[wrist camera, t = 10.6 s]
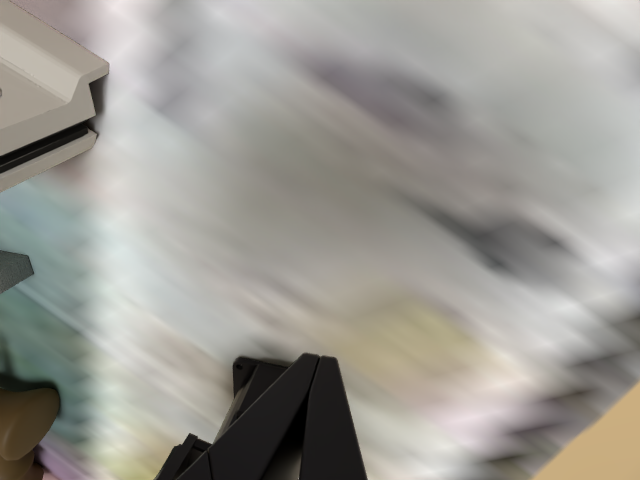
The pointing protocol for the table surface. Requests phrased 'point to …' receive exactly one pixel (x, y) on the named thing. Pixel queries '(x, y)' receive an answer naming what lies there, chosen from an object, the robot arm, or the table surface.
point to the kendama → (24, 430)
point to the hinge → (42, 96)
